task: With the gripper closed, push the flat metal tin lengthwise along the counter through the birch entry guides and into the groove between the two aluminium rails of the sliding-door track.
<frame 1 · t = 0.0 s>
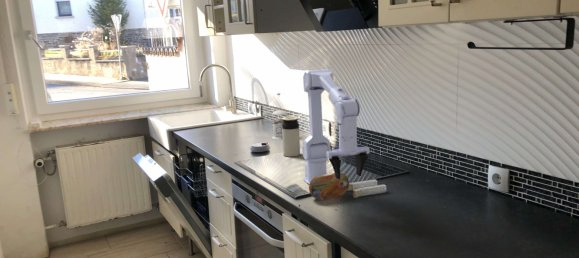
hand: (348, 176, 159), 10 cm above the worktop, fingers open, 7 cm apart
tin: (329, 197, 171), on the worktop
door track: (368, 190, 175), on the worktop
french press: (281, 137, 270), on the worktop
travel mug: (291, 155, 231), on the worktop
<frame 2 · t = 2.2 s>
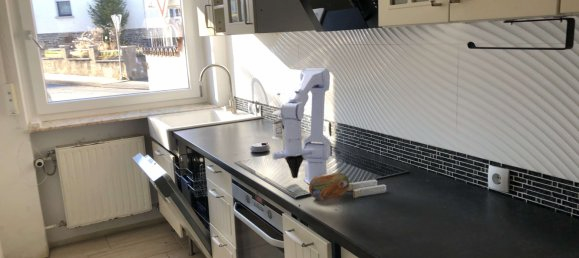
hand: (294, 177, 165), 9 cm above the worktop, fingers closed
nothing on the worktop moved.
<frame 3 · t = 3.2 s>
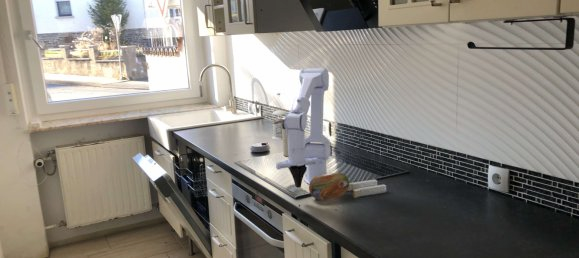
hand: (298, 186, 166), 5 cm above the worktop, fingers closed
nothing on the worktop moved.
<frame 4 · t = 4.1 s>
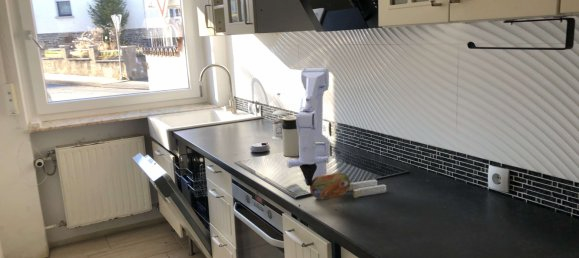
hand: (308, 185, 167), 5 cm above the worktop, fingers closed
tin: (329, 197, 171), on the worktop, touching gripper
everything else where it was.
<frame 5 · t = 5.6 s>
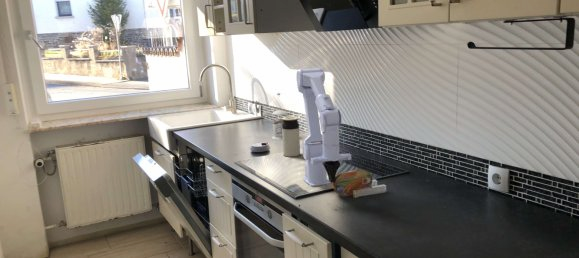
hand: (331, 181, 170), 5 cm above the worktop, fingers closed
tin: (352, 194, 173), on the worktop, touching gripper
everything else where it was.
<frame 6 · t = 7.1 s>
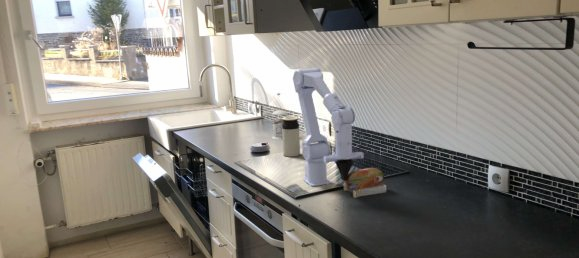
hand: (344, 179, 171), 5 cm above the worktop, fingers closed
tin: (364, 192, 175), on the worktop, touching gripper
everything else where it was.
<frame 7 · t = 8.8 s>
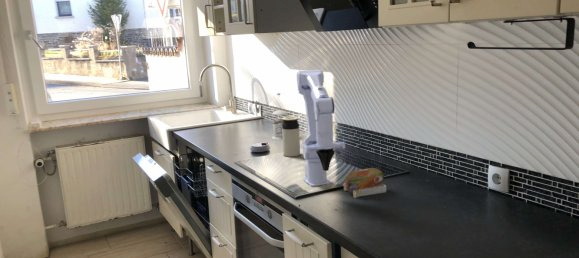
hand: (325, 170, 170), 9 cm above the worktop, fingers closed
tin: (364, 192, 175), on the worktop
everything else where it was.
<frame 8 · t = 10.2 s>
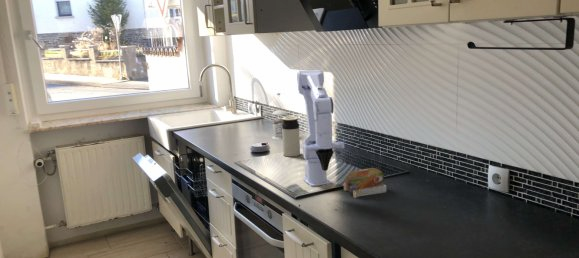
hand: (324, 169, 170), 9 cm above the worktop, fingers closed
nothing on the worktop moved.
at the end: tin 1.1 cm off-centre on the door track, point 0.0 cm above the door track's base; tin tilted 0°; the gripper is holding nothing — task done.
